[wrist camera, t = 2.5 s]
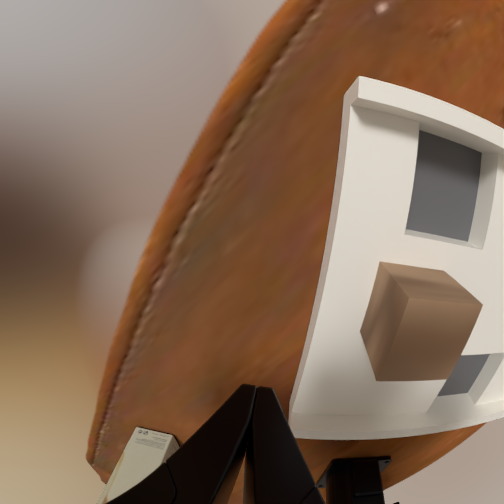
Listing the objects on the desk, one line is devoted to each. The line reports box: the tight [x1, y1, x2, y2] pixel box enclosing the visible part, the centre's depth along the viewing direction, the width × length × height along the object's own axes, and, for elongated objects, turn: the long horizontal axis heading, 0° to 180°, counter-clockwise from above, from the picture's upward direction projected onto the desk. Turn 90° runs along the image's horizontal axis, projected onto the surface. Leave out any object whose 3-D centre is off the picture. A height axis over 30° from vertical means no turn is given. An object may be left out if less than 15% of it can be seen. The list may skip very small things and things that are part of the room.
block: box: [360, 261, 483, 381], centre depth 11 cm, size 4×4×4 cm
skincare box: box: [97, 427, 180, 504], centre depth 17 cm, size 6×4×12 cm
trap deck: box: [288, 76, 504, 440], centre depth 13 cm, size 20×22×4 cm
